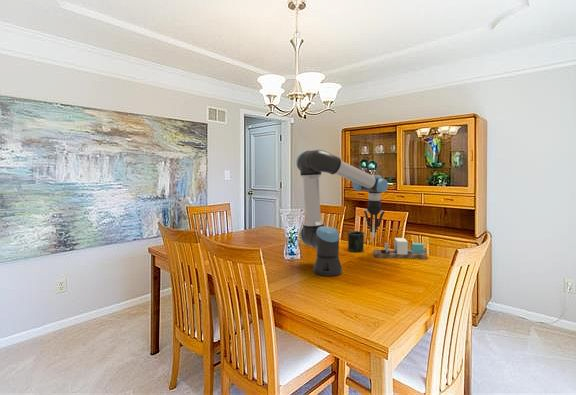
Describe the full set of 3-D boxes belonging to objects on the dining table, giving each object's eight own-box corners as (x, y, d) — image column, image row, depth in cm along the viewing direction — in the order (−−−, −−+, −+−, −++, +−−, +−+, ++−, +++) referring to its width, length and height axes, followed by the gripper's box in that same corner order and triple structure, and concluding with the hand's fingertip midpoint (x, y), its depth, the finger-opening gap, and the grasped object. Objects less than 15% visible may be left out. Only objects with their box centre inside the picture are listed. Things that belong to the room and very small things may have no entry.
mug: (344, 251, 215) (345, 233, 214) (352, 246, 227) (353, 229, 226) (360, 253, 209) (361, 235, 208) (367, 248, 221) (368, 231, 220)
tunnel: (397, 254, 197) (397, 241, 196) (394, 250, 207) (394, 237, 206) (407, 254, 196) (407, 241, 195) (403, 250, 206) (404, 238, 205)
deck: (375, 257, 198) (375, 253, 198) (373, 253, 209) (373, 249, 209) (426, 259, 194) (426, 255, 194) (421, 254, 205) (421, 250, 205)
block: (413, 251, 198) (413, 244, 198) (411, 250, 202) (411, 242, 202) (423, 252, 197) (423, 244, 197) (421, 250, 202) (421, 243, 201)
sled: (386, 252, 199) (386, 244, 199) (384, 250, 206) (384, 242, 206) (427, 254, 196) (427, 245, 195) (424, 251, 203) (424, 243, 202)
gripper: (364, 200, 198) (362, 238, 200) (386, 200, 196) (384, 239, 198) (363, 199, 205) (361, 235, 207) (384, 199, 204) (382, 236, 205)
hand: (372, 237), depth 203 cm, fingers closed
